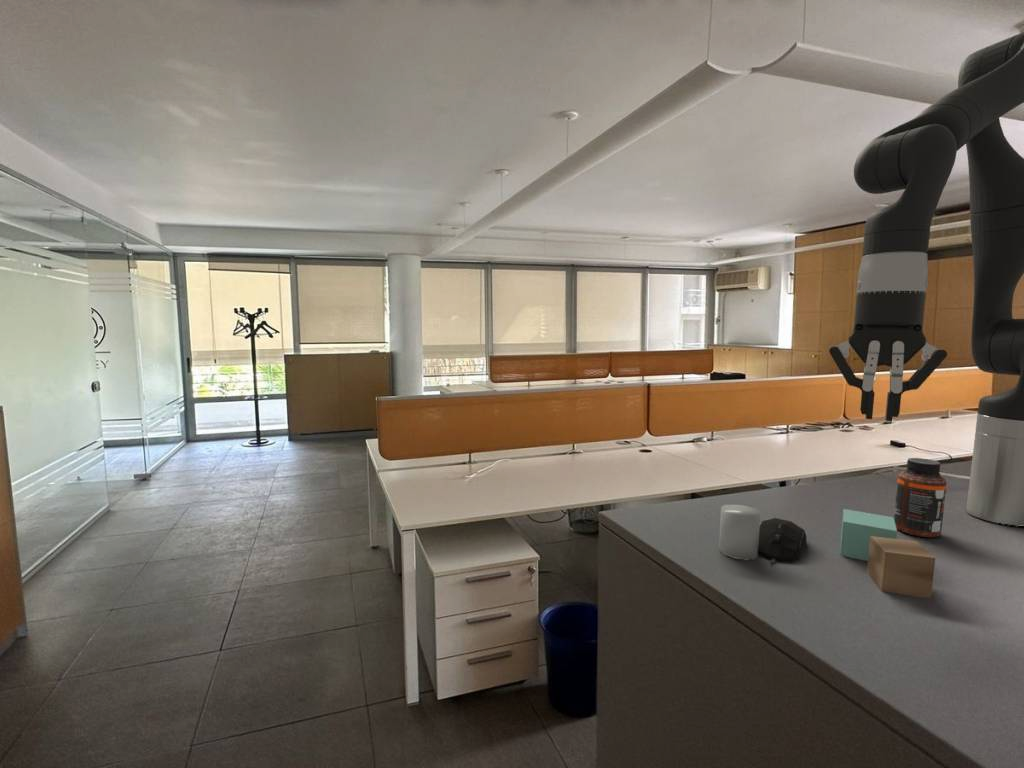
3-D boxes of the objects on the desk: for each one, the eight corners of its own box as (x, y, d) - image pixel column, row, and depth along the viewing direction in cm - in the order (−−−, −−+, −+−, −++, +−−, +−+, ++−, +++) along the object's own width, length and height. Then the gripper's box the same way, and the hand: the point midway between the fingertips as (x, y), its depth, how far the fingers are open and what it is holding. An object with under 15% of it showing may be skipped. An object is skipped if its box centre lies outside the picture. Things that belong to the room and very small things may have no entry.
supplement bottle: (949, 541, 79) (958, 467, 77) (904, 537, 80) (912, 464, 78) (927, 526, 84) (934, 457, 83) (885, 522, 86) (892, 454, 84)
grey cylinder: (722, 542, 77) (724, 502, 76) (759, 550, 74) (762, 508, 74) (715, 554, 73) (717, 512, 72) (754, 563, 70) (757, 519, 69)
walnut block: (866, 573, 68) (870, 536, 67) (912, 579, 66) (916, 541, 66) (881, 591, 63) (885, 551, 63) (930, 598, 62) (935, 557, 61)
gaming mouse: (744, 565, 70) (746, 537, 70) (761, 530, 83) (763, 505, 82) (797, 578, 67) (800, 548, 66) (807, 540, 79) (809, 514, 79)
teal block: (840, 541, 78) (843, 508, 77) (890, 551, 75) (893, 517, 74) (840, 556, 73) (843, 521, 72) (893, 567, 70) (897, 531, 69)
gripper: (952, 291, 69) (938, 420, 71) (831, 292, 77) (821, 410, 79) (963, 287, 63) (947, 429, 65) (829, 289, 70) (819, 417, 72)
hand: (878, 418), depth 72 cm, fingers closed
